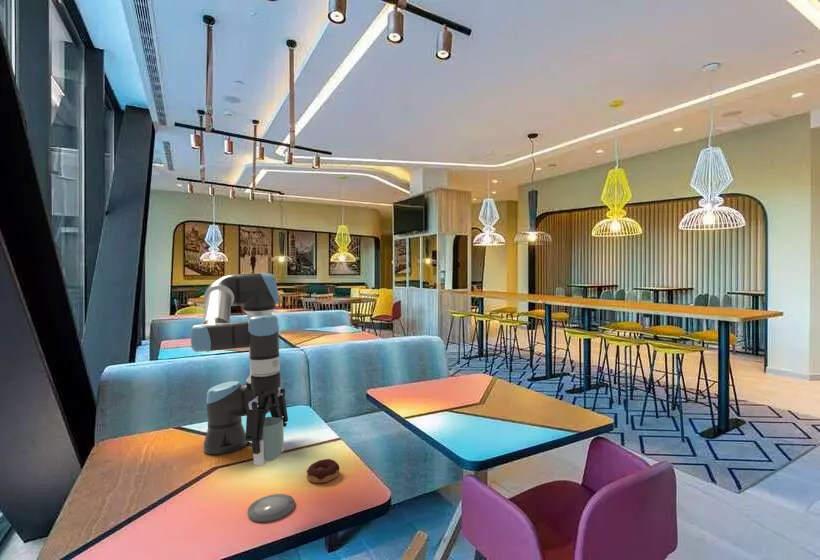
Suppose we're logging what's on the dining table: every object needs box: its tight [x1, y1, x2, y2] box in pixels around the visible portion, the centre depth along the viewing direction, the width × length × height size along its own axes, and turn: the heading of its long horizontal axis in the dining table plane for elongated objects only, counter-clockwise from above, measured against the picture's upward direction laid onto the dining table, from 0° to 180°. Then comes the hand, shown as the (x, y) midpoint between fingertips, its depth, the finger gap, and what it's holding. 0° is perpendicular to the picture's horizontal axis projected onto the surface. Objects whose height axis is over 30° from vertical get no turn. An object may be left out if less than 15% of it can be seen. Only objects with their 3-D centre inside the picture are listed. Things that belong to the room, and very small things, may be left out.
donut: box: [305, 458, 340, 484], centre depth 127 cm, size 10×10×4 cm
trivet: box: [247, 493, 296, 523], centre depth 110 cm, size 12×12×1 cm
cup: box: [261, 416, 285, 462], centre depth 109 cm, size 8×8×10 cm
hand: (269, 457), depth 109 cm, fingers closed on cup, 8 cm apart
